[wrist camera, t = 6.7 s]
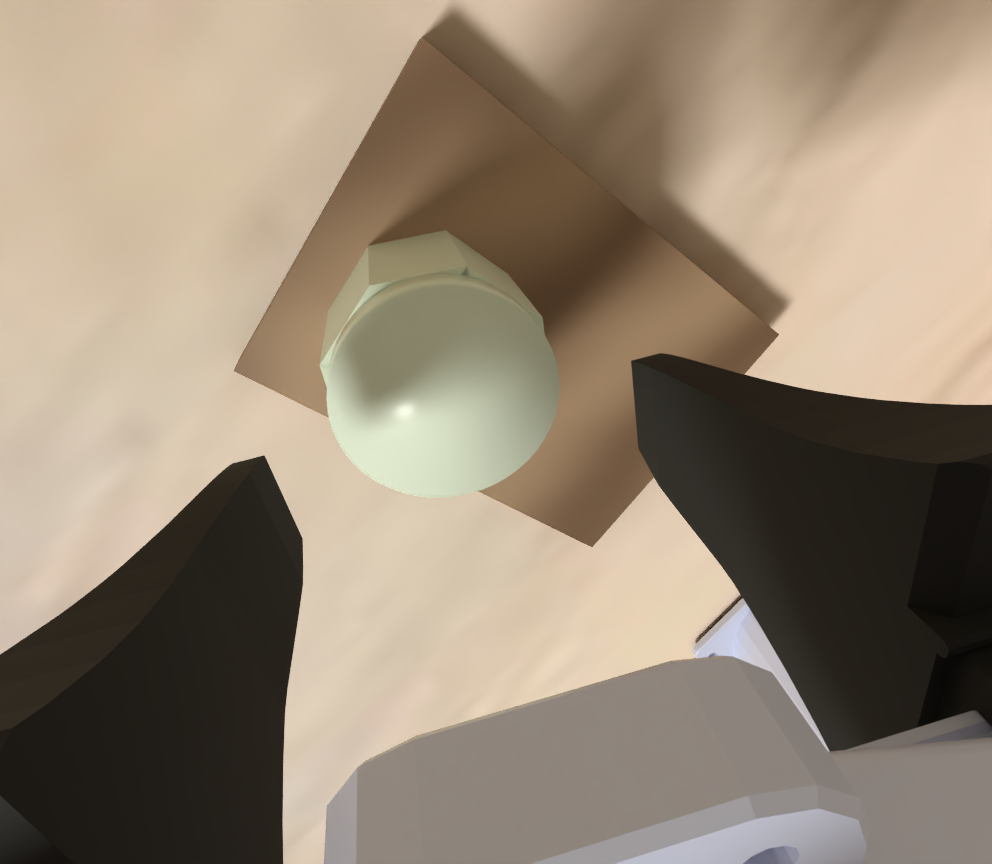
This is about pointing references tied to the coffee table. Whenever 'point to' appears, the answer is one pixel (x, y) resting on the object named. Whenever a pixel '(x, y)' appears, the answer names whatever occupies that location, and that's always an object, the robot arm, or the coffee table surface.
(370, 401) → the cap
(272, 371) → the post base
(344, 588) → the coffee table surface
